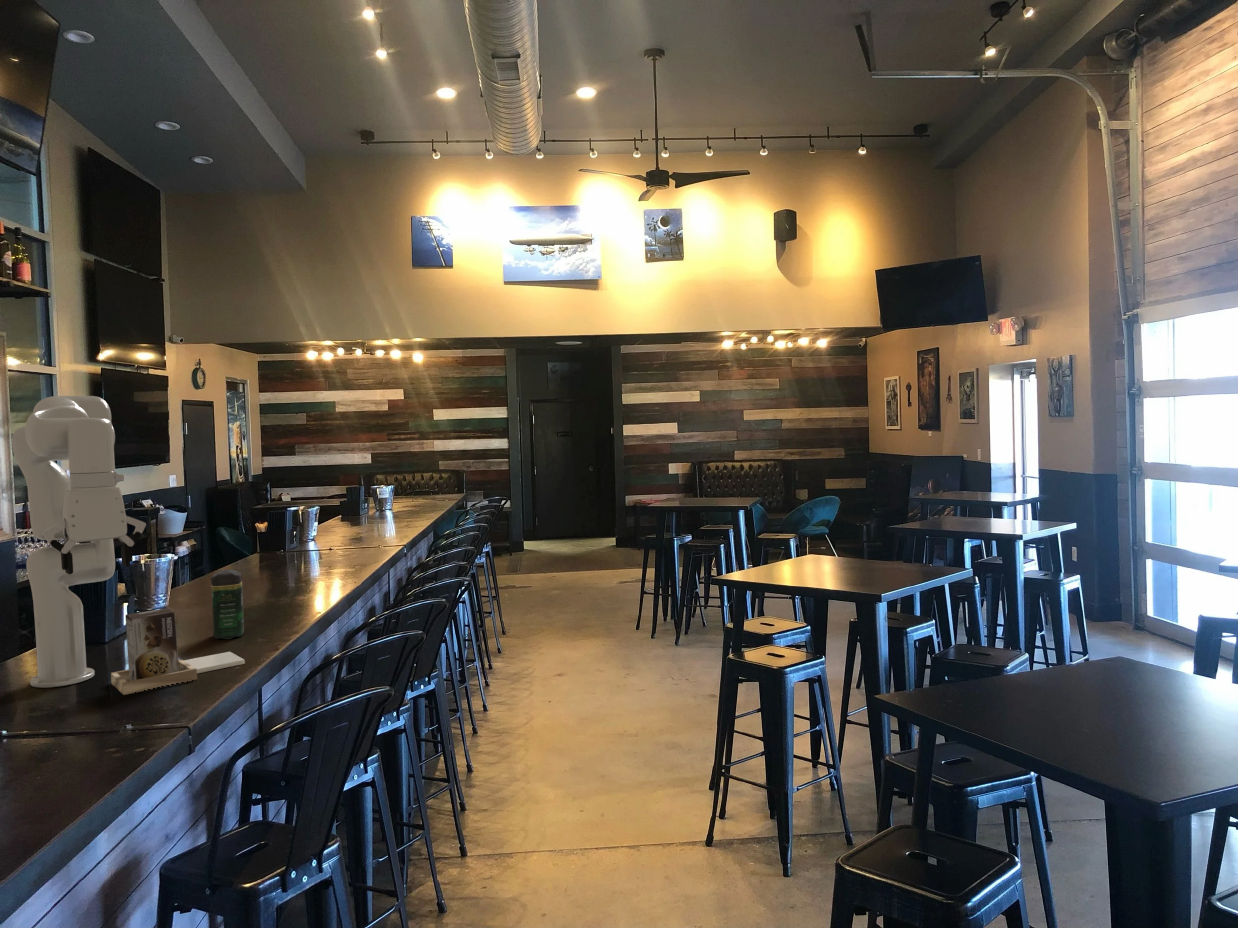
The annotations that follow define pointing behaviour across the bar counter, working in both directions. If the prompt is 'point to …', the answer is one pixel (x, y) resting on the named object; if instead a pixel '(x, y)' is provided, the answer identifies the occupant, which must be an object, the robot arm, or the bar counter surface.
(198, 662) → the tile
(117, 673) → the holder frame
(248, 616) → the bar counter surface
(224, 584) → the coffee jar
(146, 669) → the coffee box
